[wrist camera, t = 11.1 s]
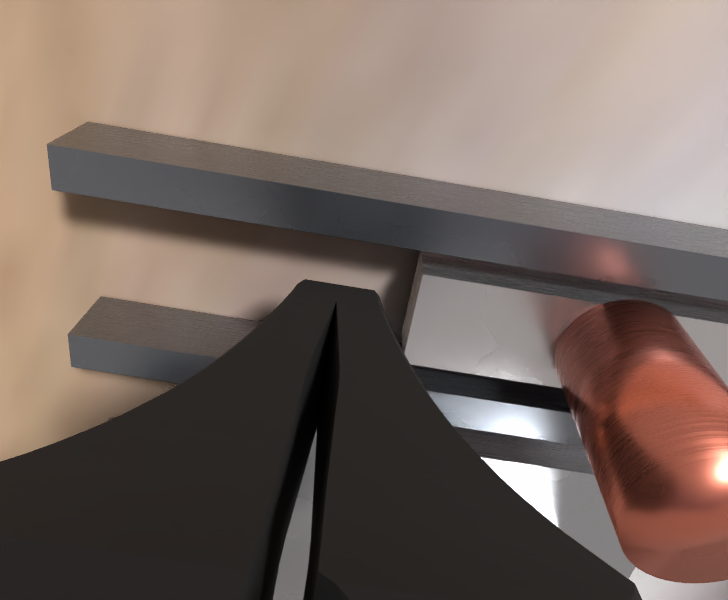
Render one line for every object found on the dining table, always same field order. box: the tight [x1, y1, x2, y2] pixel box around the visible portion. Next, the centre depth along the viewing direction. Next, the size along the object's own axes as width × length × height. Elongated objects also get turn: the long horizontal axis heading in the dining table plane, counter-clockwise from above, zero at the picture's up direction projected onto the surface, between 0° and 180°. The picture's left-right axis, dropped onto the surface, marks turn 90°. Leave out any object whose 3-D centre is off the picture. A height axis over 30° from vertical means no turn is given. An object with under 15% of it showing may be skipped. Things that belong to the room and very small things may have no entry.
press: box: [47, 122, 728, 600], centre depth 12 cm, size 17×15×6 cm
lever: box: [402, 251, 728, 583], centre depth 10 cm, size 8×2×5 cm, turn 81°
